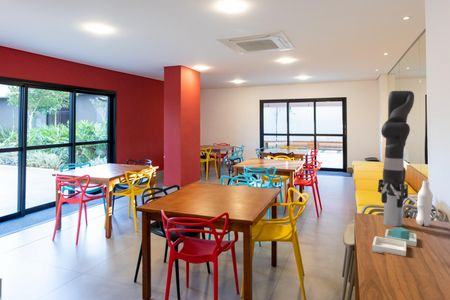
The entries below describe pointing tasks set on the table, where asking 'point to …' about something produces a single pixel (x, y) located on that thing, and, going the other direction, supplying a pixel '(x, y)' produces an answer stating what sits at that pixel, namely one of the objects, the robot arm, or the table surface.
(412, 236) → the sage tray
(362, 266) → the table surface
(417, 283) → the table surface
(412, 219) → the table surface
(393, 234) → the teal cube
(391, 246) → the cream tray
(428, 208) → the water bottle
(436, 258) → the table surface
